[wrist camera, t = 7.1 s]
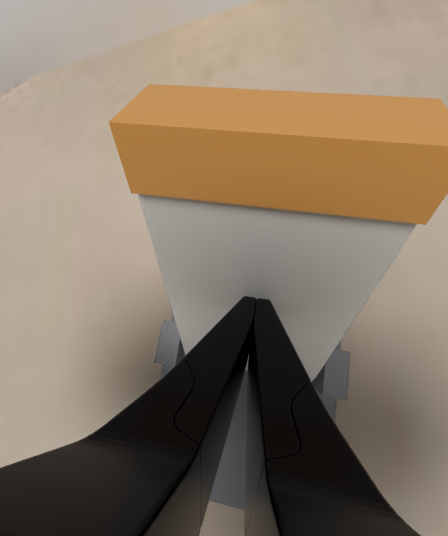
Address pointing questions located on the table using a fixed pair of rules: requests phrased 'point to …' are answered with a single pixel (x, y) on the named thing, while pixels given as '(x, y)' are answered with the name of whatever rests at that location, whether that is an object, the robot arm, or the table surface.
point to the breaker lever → (280, 199)
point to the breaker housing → (234, 453)
